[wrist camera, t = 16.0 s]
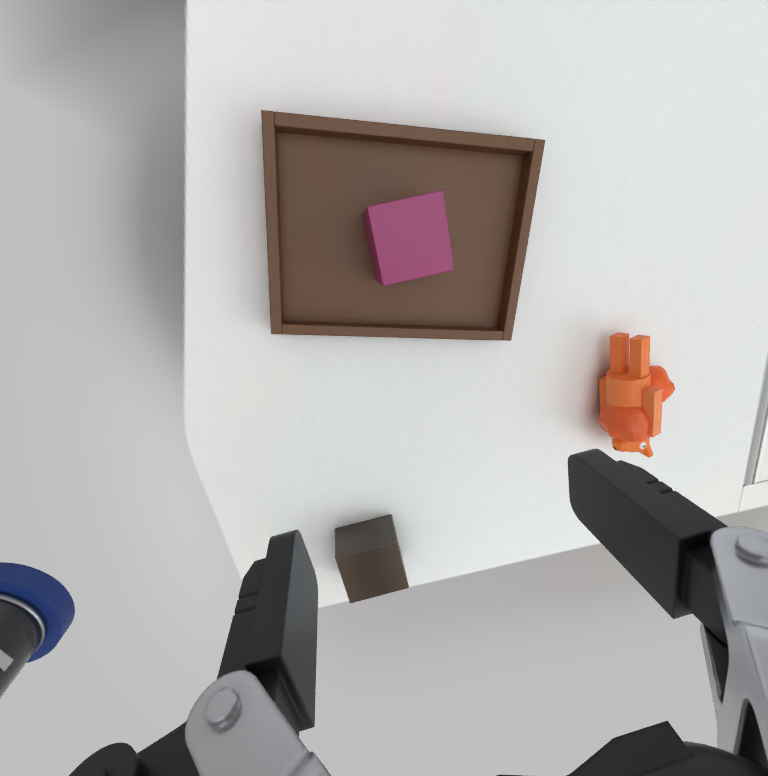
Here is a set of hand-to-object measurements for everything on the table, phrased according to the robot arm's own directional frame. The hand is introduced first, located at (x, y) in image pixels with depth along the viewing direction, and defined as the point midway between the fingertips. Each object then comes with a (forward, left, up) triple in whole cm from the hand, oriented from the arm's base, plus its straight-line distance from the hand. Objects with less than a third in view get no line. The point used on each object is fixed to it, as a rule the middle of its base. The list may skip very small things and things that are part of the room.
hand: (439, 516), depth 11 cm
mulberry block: (+2, +8, -23) cm, 24 cm away
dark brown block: (+1, -22, -23) cm, 32 cm away
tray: (+2, +8, -23) cm, 25 cm away
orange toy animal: (+25, -4, -24) cm, 35 cm away
